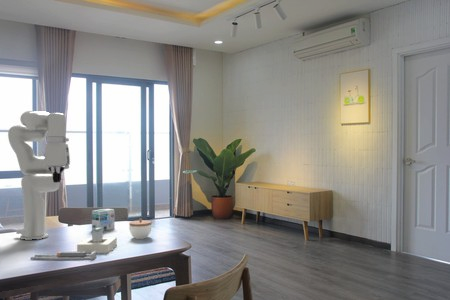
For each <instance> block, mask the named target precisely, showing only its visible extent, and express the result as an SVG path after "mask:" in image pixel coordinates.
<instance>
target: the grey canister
mask: <svg viewBox="0 0 450 300" xmlns="http://www.w3.org/2000/svg"><path fill="white" fill-rule="evenodd" d="M91 238H92V243H103V238H104V235H103V228H101V227H97V228H92V227H91Z"/></svg>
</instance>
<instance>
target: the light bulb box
mask: <svg viewBox="0 0 450 300" xmlns="http://www.w3.org/2000/svg"><path fill="white" fill-rule="evenodd" d="M115 211H116V210H115V209H114V208H101V209H94V210H91V229H92V228H97V227H101V228H103V231H109V230H113V229H115V226H116V225H115V221H116V220H115V219H116V217H115Z"/></svg>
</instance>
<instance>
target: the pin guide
mask: <svg viewBox="0 0 450 300" xmlns="http://www.w3.org/2000/svg"><path fill="white" fill-rule="evenodd" d="M96 258H97V253H96V251H94V252H92V253H90V254H86V257H57V254H35V255H34V256H31V257H30V260H31V259H38V260H37V261H41V260H42V259H43V261H45V260H46V261H48V260H49V261H51V260H53V261H54V260H55V261H56V260H57V261H58V260H59V261H60V260H61V261H62V260H63V261H65V260H67V261H68V260H71V261H72V260H74V261H76V260H78V261H80V260H82V261H83V260H89V261H90V260H91V261H92V260H94V259H96ZM39 259H40V260H39Z"/></svg>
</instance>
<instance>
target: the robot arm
mask: <svg viewBox="0 0 450 300" xmlns="http://www.w3.org/2000/svg"><path fill="white" fill-rule="evenodd" d="M19 119H20V123H21V124H20V125H13V126H11V127H9V129H8V132H7V139H8V142H9V145H10V147H11V149H12V151H13V152H14V153H15V156H16V159H17V162H18V165H19V169H20V172H21V173H22V174H23V175H24V176H23V177H22V178H21V181H20V183H21V186H20V187H21V190H22V199H23V228H22V229H16V231H15V232H16V234H17V235H20V234H21V235H20V237H19V238H21V239H20V240H22V239H25V240H24V241H33V240H32V239H37V240H42V238H43V239H46V238H48V237H49V233H47V232H46V213H45V211H46V209H45V207H46V206H45V204H46V202H45V199H44V198H43V196H41V194H40V193H42V194H43V193H51V192H52V193H53V192H56V191H58V190H59V188H60V184H61V183H60V182H61V180H62V173H63V172H64V171H65V170H68V169H70V165H71V158H70V149H69V144H68V143H67V142H69V141H70V140H69V138H67V137H66V134H67V133H66V130H67V128H66V115H65V114H64V113H60V112H50V113H49V112H47V111H36V110H27V111H25V112H23V113H22V114H21V115H20V117H19ZM46 139H47V142H46V144H45V147H44V154H43V156H37V155H36V153H35V150H34V149H33V148H32V146H31V145H30V144H28V143H27V142H31V143H33V142H43V141H44V140H46Z"/></svg>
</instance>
